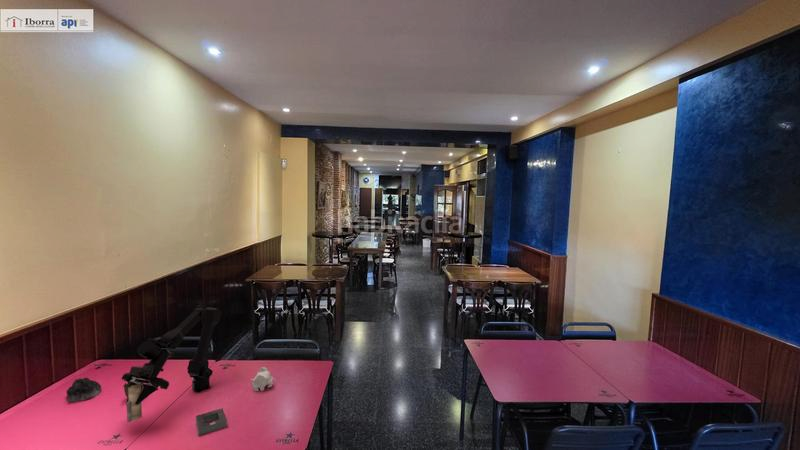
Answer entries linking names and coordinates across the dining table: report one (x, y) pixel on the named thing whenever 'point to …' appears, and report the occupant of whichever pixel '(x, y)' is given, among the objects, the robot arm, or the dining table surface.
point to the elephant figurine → (262, 379)
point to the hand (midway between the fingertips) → (131, 403)
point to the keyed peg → (132, 409)
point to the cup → (128, 387)
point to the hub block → (205, 418)
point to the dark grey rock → (83, 390)
